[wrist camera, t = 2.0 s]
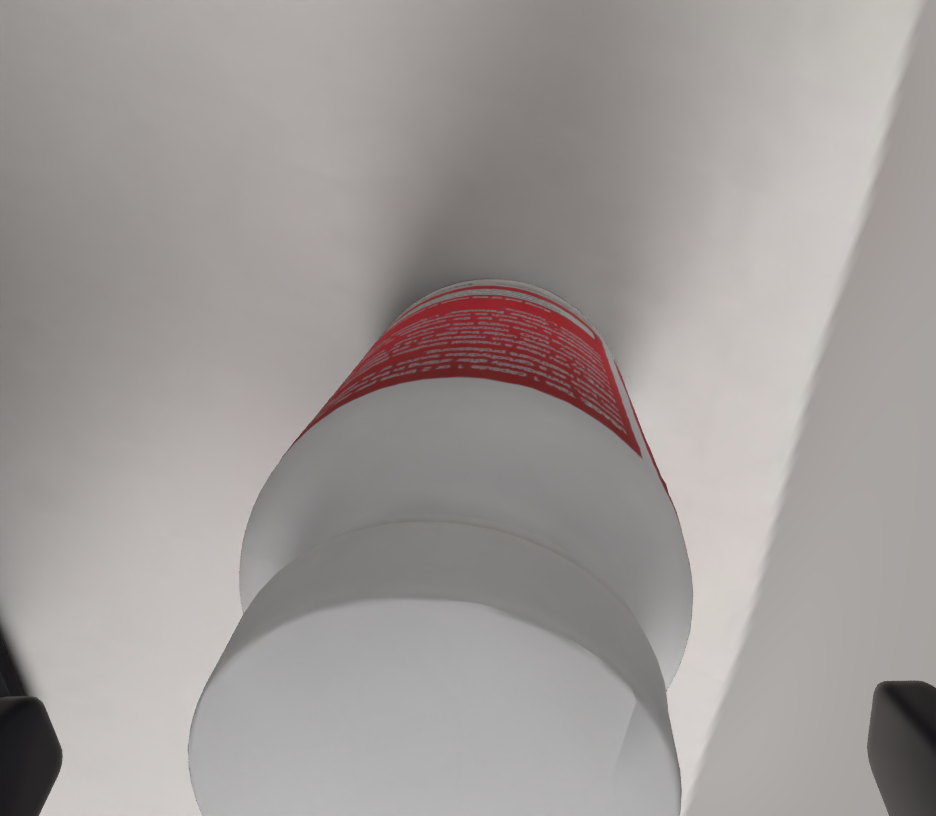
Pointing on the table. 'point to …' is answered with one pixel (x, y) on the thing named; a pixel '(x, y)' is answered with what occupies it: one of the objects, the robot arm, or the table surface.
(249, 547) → the pill bottle
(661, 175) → the table surface
